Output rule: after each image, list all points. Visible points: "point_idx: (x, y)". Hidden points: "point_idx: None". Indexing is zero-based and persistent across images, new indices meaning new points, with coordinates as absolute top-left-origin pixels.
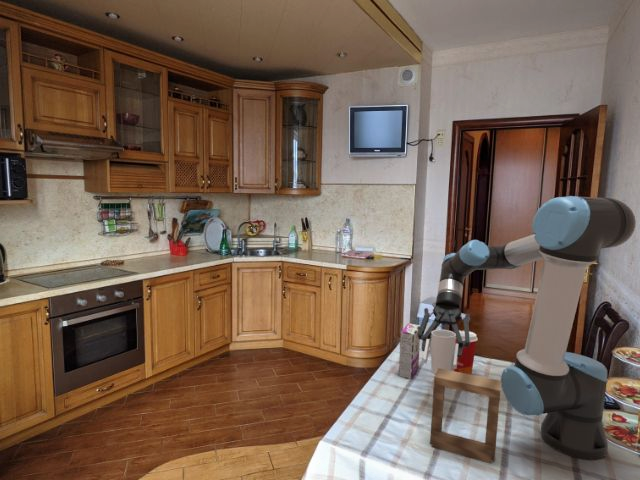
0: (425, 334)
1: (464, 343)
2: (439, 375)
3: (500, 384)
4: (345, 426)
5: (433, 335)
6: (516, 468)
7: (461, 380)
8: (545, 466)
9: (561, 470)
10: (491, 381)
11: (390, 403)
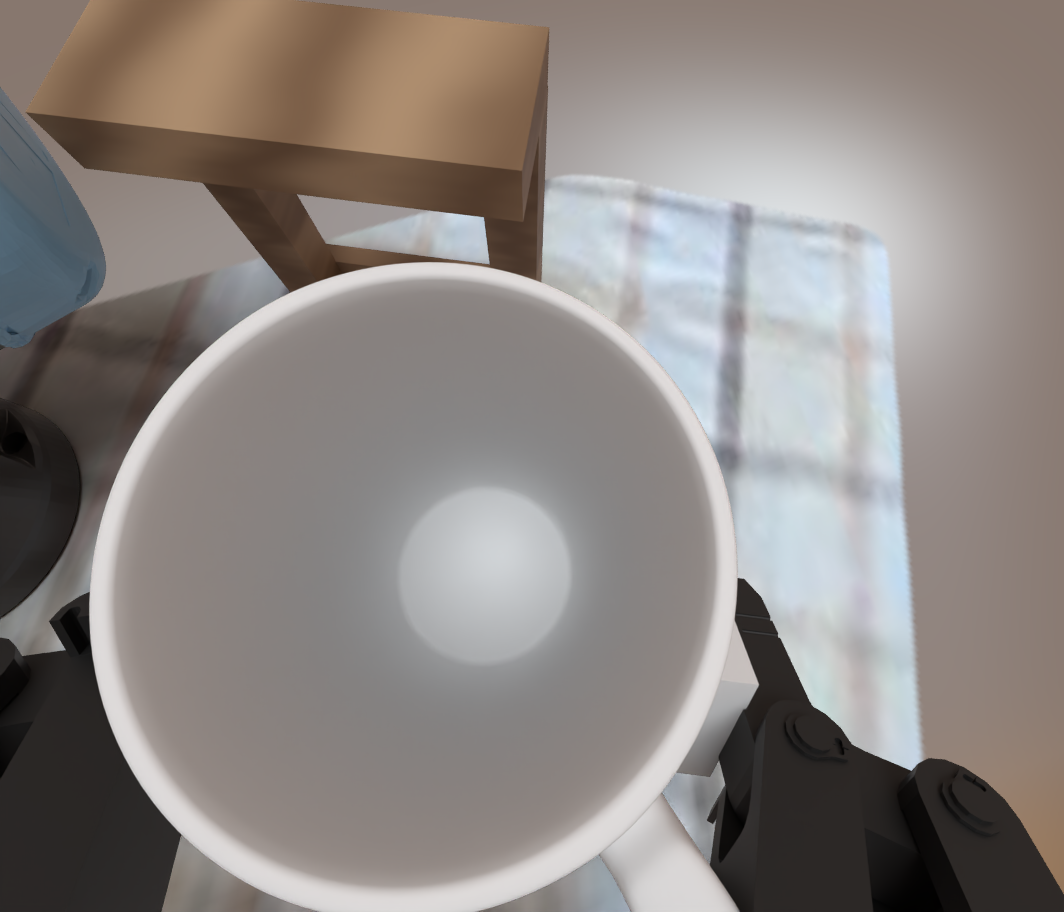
0: (836, 798)
1: (65, 664)
2: (511, 58)
3: (61, 55)
4: (862, 329)
5: (659, 384)
6: (259, 283)
7: (350, 34)
8: (154, 322)
9: (107, 317)
10: (115, 78)
11: (747, 581)
